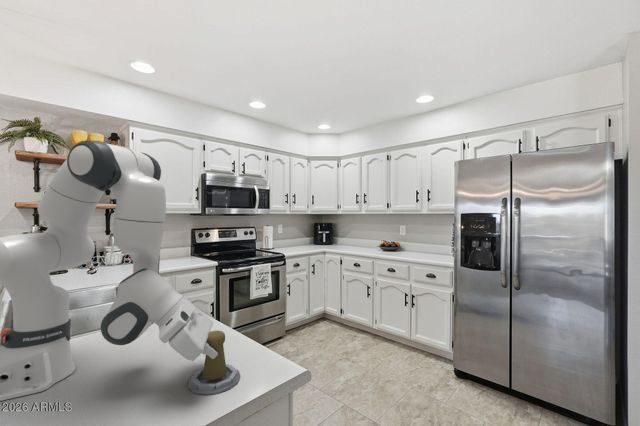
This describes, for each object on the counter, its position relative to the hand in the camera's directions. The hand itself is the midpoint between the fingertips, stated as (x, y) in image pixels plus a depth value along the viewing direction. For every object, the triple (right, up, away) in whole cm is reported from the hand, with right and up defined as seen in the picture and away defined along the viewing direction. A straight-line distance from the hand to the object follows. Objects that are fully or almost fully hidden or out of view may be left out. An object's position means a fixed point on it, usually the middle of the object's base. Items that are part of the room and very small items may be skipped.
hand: (217, 351), depth 79 cm
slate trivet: (-1, -8, 0) cm, 8 cm away
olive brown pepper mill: (-1, -6, 0) cm, 6 cm away
